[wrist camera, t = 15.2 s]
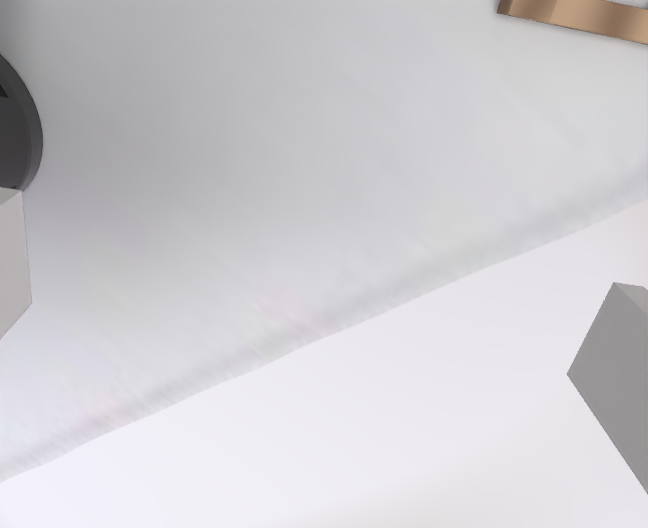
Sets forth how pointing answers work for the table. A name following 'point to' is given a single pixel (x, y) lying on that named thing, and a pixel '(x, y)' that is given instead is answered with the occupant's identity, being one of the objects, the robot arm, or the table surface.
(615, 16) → the frame
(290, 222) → the table surface
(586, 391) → the robot arm
